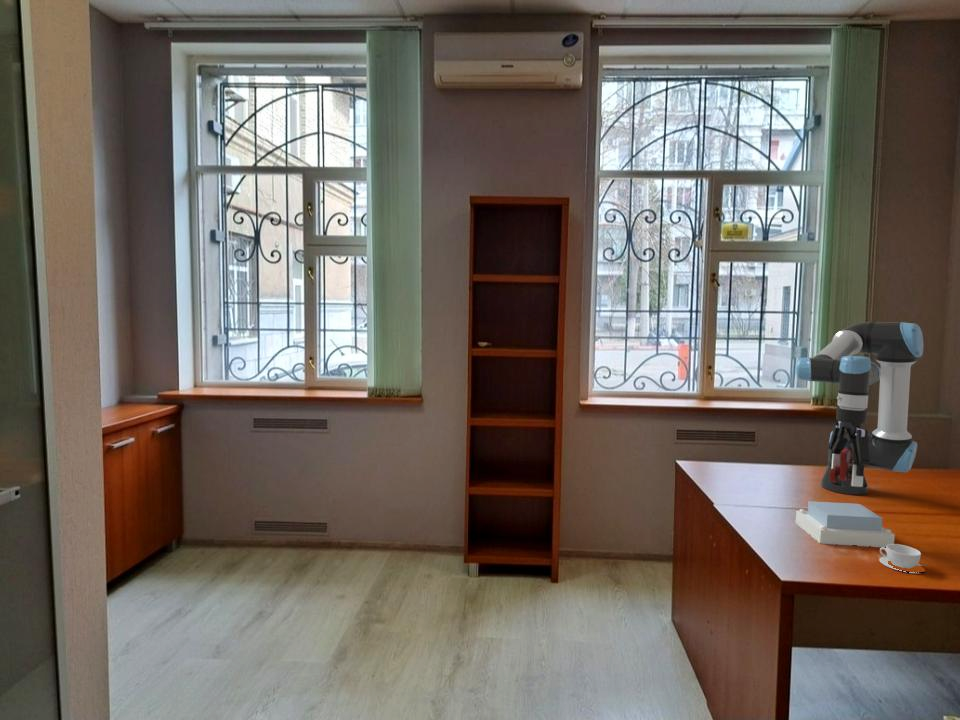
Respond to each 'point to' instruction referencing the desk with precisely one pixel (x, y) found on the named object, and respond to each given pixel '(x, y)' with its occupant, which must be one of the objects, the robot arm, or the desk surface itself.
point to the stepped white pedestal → (843, 524)
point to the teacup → (900, 556)
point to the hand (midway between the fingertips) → (846, 480)
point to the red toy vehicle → (843, 466)
